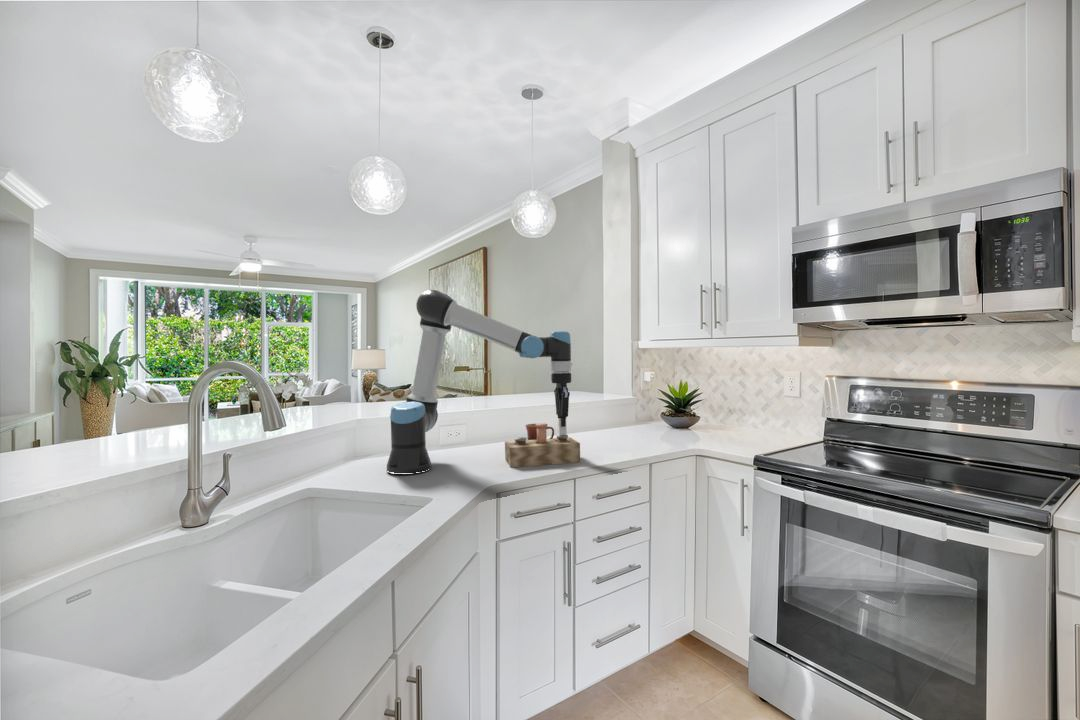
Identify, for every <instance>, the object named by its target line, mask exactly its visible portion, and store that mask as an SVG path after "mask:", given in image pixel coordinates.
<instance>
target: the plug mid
mask: <svg viewBox="0 0 1080 720" xmlns="http://www.w3.org/2000/svg"><path fill="white" fill-rule="evenodd" d="M535 424H536V427H537V444H543V443H547V439H548V438H547V430H546V427H548V423H546V422H545V423H542V422H541V423H535Z"/></svg>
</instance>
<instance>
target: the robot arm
mask: <svg viewBox="0 0 1080 720" xmlns="http://www.w3.org/2000/svg"><path fill="white" fill-rule="evenodd" d="M415 306H416V312H417V313H418V315H419V316H420V320H419V321H420V322H419V326H420V328H421V330H422V332H421V333H422V334H421V339H420V346H419V351H418V357H417V364H416V366H415V367H416V369H415V374H414V378H413V379H414V380H413V385H412V390H411V393H410V394H408V395H407V396H406V401H405V402H404V401H403V402H401V403H396V404H394V405H392V406H391V409H390V415H389V417H390V418H389V419H390V437H391V438H390V443H391V450H390V453H389V457H388V459H387V462H386V463H387V464H386V472H387V471H389V472H394V473H416V472H422V471H426V470H428V469H430V468H431V469H432V461H431V458H430V456H429V452H428V450H427V447H426V443H427V442H426V441H427V440H426V433H427V432H429V431H431V429H433V428H434V427H435V425H436V423H437V421H438V417H439V413H438V409H437V408H438V403H439V400H438V398H437V397H436V391H437V385H438V382H439V381H438V380H439V373H440V370H441V369H440V368H441V363H442V357H443V353H444V352H443V351H444V347H445V341H446V336H447V335H448V333H450V332H451V331H452V330H451V329H452V327H454V328H458V329H460V330H462V331H465V332H467V333H470V334H472V335H473V336H474V335H475V336H476V337H479V338H480V339H484V340H487V341H489V342H492V343H494V344H496V345H498V346H501V347H504V348H506V349H509V350H510V351H513V352H516V353H517V354H518V355H519V357H520V358H527V359H537V358H550V372H552V373H551V375H550V377H551V383H552V384H556V385H555V389H554V390H553V394H554V399H555V400H554V401H555V411H556V412H555V413H556V415H557V420H558V421H557V423H558V425H557V427H558V429H557V430H558V435H568V434H567V433H568V432H567V418H568V417H569V408H570V407H569V405H570V395H571V394H570V391H569V389H568V385H567V384H570V383H572V373H571V371H572V366H573V363H572V351H571V350H572V347H571V345H572V342H571V334H570V332H568V331H564V330H563V331H552V332H550V336H547V337H545V336H543V337H540V336H537V335H533V334H530V333H528V332H524V331H523V330H520V329H518V328H515V327H513V326H511V325H509V324H506V323H503V322H501V321H498V320H496V319H494V318H491V317H489V316H487V315H484V314H481V313H479V312H477V311H475V310H471V309H469V308H467V307H465V306H462V305H459V303H458V302H457V300H455V299H453V298H452V297H450V296H449V295H448V294H446V293H443V292H441V291H440V290H437V289H428V290H426V291H423V292H422V293H421V294H420V295H419V296H418V297H417V300H416V305H415ZM431 469H430V470H431ZM426 472H427V471H426Z"/></svg>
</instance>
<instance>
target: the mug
mask: <svg viewBox="0 0 1080 720" xmlns="http://www.w3.org/2000/svg"><path fill="white" fill-rule="evenodd" d="M536 424H537V423H528V424H527V423H526V424H525V425H524V426H525V428H526V432H527V437H526V438H527V440H537V427H536ZM549 429H550V430H551V436H550V437H549V438H548V439H554V436H555V428H554V427H552V426H547V427H546V431H547V430H549Z"/></svg>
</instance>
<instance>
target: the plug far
mask: <svg viewBox="0 0 1080 720" xmlns="http://www.w3.org/2000/svg"><path fill="white" fill-rule="evenodd" d="M556 438H558V443H559V442H567V438H569V434H567V435H559V434H556Z"/></svg>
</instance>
